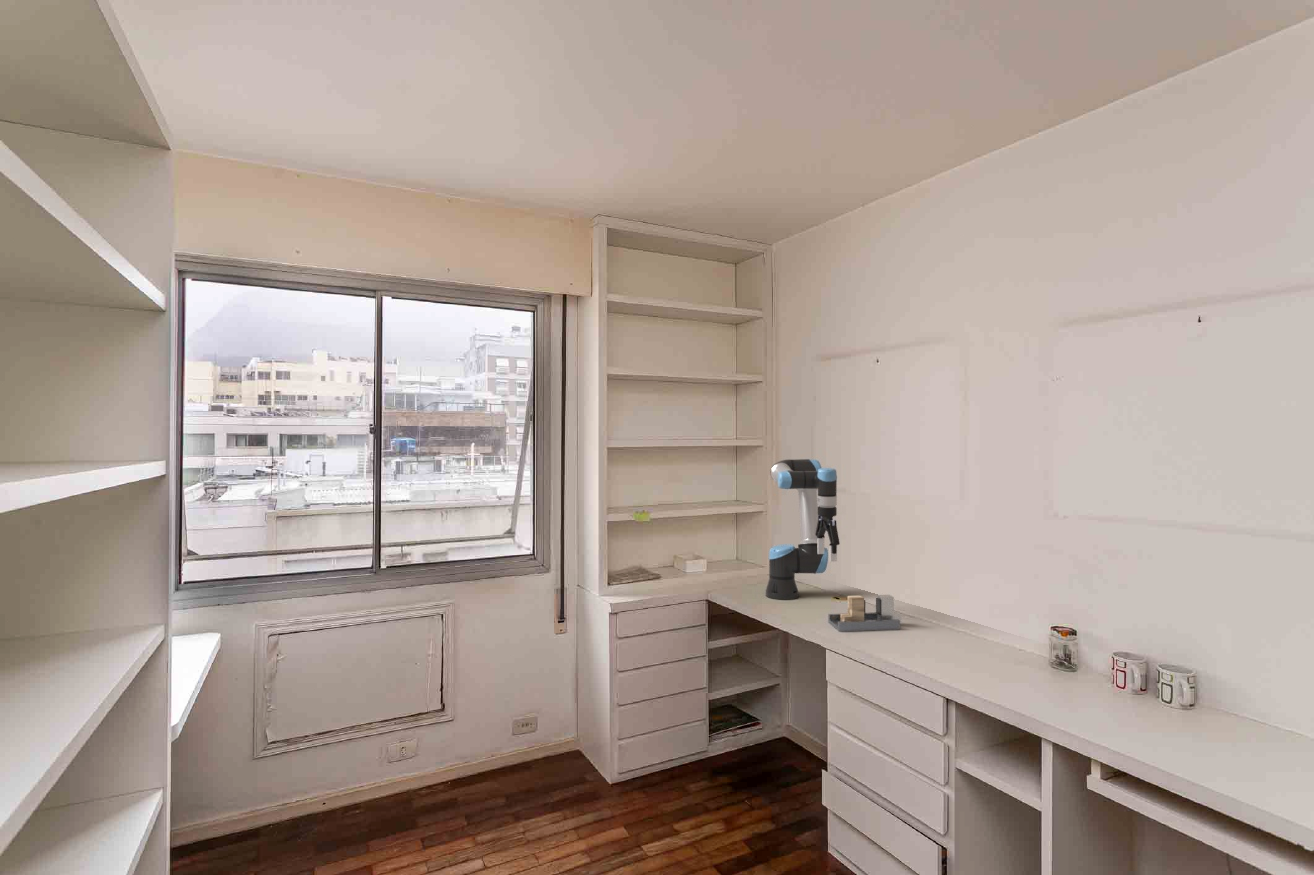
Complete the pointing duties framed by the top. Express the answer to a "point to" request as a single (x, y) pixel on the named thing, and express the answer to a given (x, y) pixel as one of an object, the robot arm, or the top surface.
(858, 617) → the wooden stepped block
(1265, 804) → the top surface
